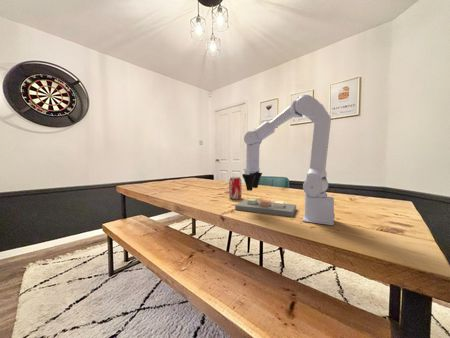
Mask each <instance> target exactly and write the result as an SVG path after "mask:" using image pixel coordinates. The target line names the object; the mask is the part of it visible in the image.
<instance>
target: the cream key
mask: <svg viewBox="0 0 450 338" xmlns="http://www.w3.org/2000/svg"><path fill="white" fill-rule="evenodd" d="M285 202H286V201H282V200H281V201H278V200H276V201H274V202H273V203H274V207H276V208H284V207H285V204H286V203H285Z"/></svg>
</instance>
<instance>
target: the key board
mask: <svg viewBox="0 0 450 338" xmlns="http://www.w3.org/2000/svg"><path fill="white" fill-rule="evenodd" d="M247 200H248V199H244V200H242V201H241V202H238V203H237V204H235V205H234V210H235V211H243V212H249V213H256V214H257V213H259V214H265V215H273V216H282V217H290V218H293V216H294V215H295V212H296V210H297V204H292V203H285V207H284V208H276V207H274V203H275V202H271V206H269V207H267V206H260V201H261V200H258V204H257V205H249V204H247Z"/></svg>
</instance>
